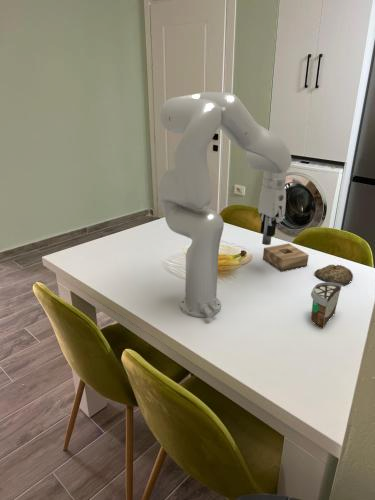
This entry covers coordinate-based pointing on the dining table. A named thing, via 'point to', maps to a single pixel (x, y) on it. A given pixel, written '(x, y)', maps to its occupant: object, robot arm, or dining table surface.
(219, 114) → the robot arm
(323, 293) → the food container
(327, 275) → the bread roll
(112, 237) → the dining table surface
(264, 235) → the pin
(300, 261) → the bore block
